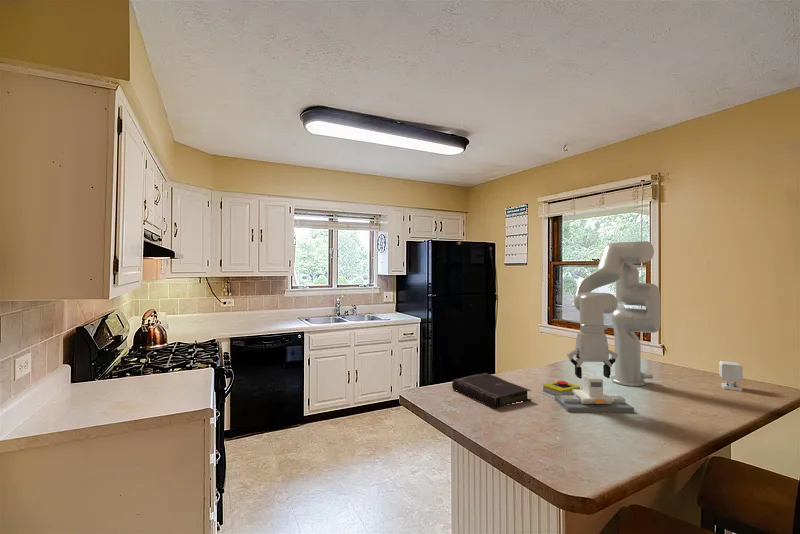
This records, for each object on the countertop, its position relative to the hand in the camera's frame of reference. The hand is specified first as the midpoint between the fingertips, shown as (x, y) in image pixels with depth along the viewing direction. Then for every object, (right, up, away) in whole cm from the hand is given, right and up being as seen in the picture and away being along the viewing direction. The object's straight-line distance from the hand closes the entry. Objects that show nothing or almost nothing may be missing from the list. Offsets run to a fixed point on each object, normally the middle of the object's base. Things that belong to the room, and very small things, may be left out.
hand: (592, 377), depth 134 cm
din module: (0, -6, 0) cm, 6 cm away
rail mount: (0, -10, 0) cm, 10 cm away
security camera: (+66, -10, +19) cm, 69 cm away
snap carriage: (0, -8, -1) cm, 8 cm away
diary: (-33, -11, +12) cm, 37 cm away
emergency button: (-5, -11, +14) cm, 19 cm away
